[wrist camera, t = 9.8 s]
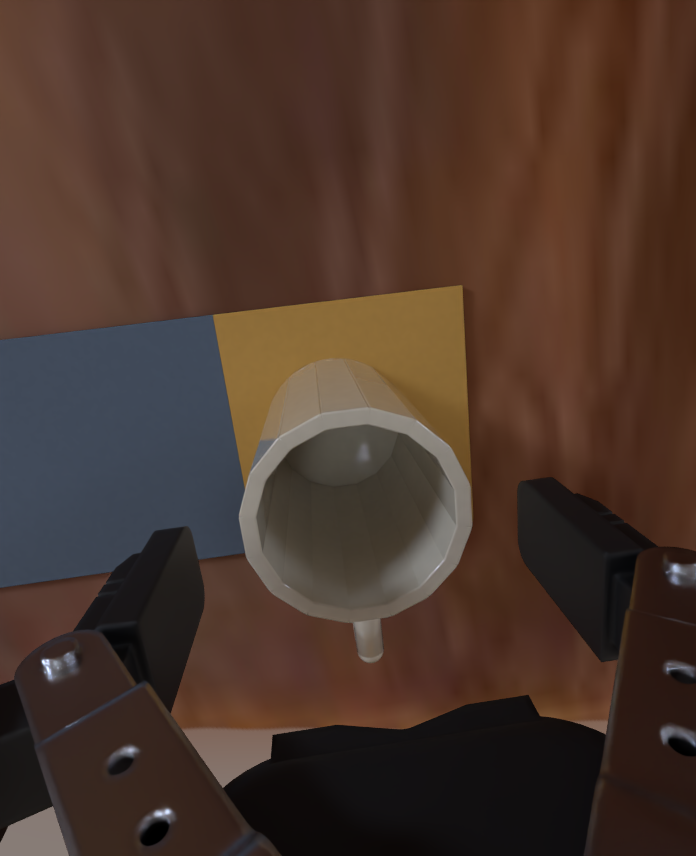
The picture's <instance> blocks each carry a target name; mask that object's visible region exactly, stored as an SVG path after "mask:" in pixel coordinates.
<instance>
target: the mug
mask: <svg viewBox="0 0 696 856" xmlns="http://www.w3.org/2000/svg"><path fill="white" fill-rule="evenodd" d="M239 523H240V528H241V533H242V539H243V544H244V549H245V554H246V557H247V560H248V561H249V563H250V564H251V566H252V567H253V568H254V570H255V571H256V573H257V574H258V576H259V577H260V578H261V580H262V581H263V583H264V584H265V585H266V587H267V588H268V590H269V591H270V592H271V593H272V594H273V595H275V596H277V597H278V598H280V599H281V600H283V601H285V602H286V603H288V604H290V605H291V606H293V607H294V608H296V609H298V610H299V611H301V612H302V613H304V614H307V615H309V616H314V617H319V618H324V619H329V620H334V621H340V622H345V623H348V622H349V623H353V626H354V634H355V641H356V648H357V653H358V655H359V657H360V658H361V659H362V660H363V661H364V662H367V663H375V662H377V661H378V660H379V659H380V658H381V657H382V655H383V652H384V644H383V634H382V625H381V618H387V617H390V616H394V615H396V614H398V613H399V612H401V611H403V610H405V609H407V608H409V607H411V606H413V605H415V604H417V603H419V602H420V601H422V600H424V599H426V598H428V596H430V595H431V594H432V593H433V592H434V591H435V590H436V589H437V588H438V587H439V586H440V584H441V583H442V582H443V581H444V580H445V579H446V578H447V577H448V576H449V575H450V574H451V572H452V571H453V570H454V569H455V568H456V567H457V565H458V563H459V561H460V558H461V555H462V553H463V550H464V548H465V545H466V542H467V540H468V537H469V534H470V532H471V529H472V504H471V486H470V483H469V481H468V479H467V477H466V475H465V473H464V471H463V469H462V467H461V465H460V463H459V461H458V459H457V457H456V456H455V454H454V452H453V450H452V448H451V447H450V446H449V445H448V443H447V442H446V441H445V440H444V439H443V438H442V437H441V436H440V435H439V434H438V432H437V431H436V430H435V429H434V428H433V427H432V426H431V425H430V424H429V423H428V421H427V420H426V419H425V418H424V417H423V416H422V415H421V414H420V413H419V412H418V410H417V409H416V408H415V407H414V406H413V405H412V404H411V403H410V402H409V401H408V399H407V398H406V397H405V396H404V395H403V394H402V393H401V392H400V391H399V390H398V389H397V387H396V386H395V385H394V384H393V383H392V382H391V381H389V380H388V379H387V378H386V377H385V376H383V375H382V374H381V373H380V372H379V371H377V370H376V369H374V368H373V367H371V366H369V365H367V364H365V363H362V362H359V361H356V360H352V359H346V358H329V359H323V360H319V361H316V362H313V363H310V364H308V365H306V366H304V367H302V368H300V369H299V370H297V371H296V372H294V373H293V374H292V375H291V376H290V377H289V378H288V379H287V380H286V381H285V382H284V383H283V384H282V385H281V387H280V388H279V390H278V391H277V393H276V395H275V396H274V397H273V400H272V402H271V405H270V408H269V412H268V415H267V418H266V421H265V424H264V428H263V431H262V434H261V437H260V440H259V444H258V447H257V450H256V453H255V457H254V460H253V463H252V466H251V469H250V473H249V476H248V480H247V484H246V488H245V492H244V496H243V500H242V504H241V508H240V512H239Z"/></svg>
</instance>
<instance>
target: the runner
mask: <svg viewBox="0 0 696 856" xmlns="http://www.w3.org/2000/svg"><path fill="white" fill-rule="evenodd" d="M329 358H346V359H352V360H356V361H359V362H362V363H365V364H367V365H369V366H371V367H373V368H374V369H376V370H377V371H379V372H380V373H381V374H382V375H383V376H385V377H386V378H387V379H388V380H389V381H391V382H392V383H393V384H394V385H395V386H396V387H397V389H398V390H399V391H400V392H401V393H402V394H403V395H404V396H405V397H406V398H407V399H408V401H409V402H410V403H411V404H412V405H413V406H414V407H415V408H416V409H417V410H418V412H419V413H420V414H421V415H422V416H423V417H424V418H425V419H426V420H427V421H428V423H429V424H430V425H431V426H432V427H433V428H434V429H435V430H436V431H437V432H438V434H439V435H440V436H441V437H442V438H443V439H444V440H445V441H446V442H447V443H448V445H449V446H450V447H451V448H452V450H453V452H454V454H455V456H456V457H457V459H458V461H459V463H460V465H461V467H462V469H463V471H464V473H465V475H466V477H467V479H468V481H469V483H470V486H471V504H472V521H473V501H472V480H471V458H470V437H469V416H468V395H467V374H466V352H465V331H464V310H463V289H462V285H459V286H451V287H442V288H434V289H426V290H417V291H409V292H401V293H392V294H384V295H375V296H367V297H359V298H350V299H342V300H334V301H325V302H317V303H308V304H300V305H292V306H283V307H275V308H267V309H258V310H250V311H241V312H233V313H225V314H216V315H208V316H200V317H191V318H183V319H174V320H166V321H158V322H149V323H141V324H133V325H124V326H116V327H107V328H99V329H91V330H82V331H74V332H66V333H57V334H49V335H41V336H32V337H24V338H15V339H7V340H0V588H2V587H9V586H16V585H23V584H30V583H37V582H44V581H51V580H58V579H65V578H72V577H79V576H86V575H93V574H100V573H108V572H113V571H114V570H115V568H116V567H117V566H118V565H120V564H121V563H122V562H124V561H125V560H126V559H127V558H129V557H130V556H131V555H132V554H137V553H141V552H142V550H143V548H144V547H145V545H146V543H147V542H148V540H149V539H150V537H151V535H152V534H153V532H154V531H155V530H162V529H169V528H176V527H184V526H188V527H189V528H190V530H191V532H192V535H193V540H194V544H195V549H196V553H197V557H198V560H199V559H206V558H213V557H220V556H227V555H234V554H241V553H245V549H244V544H243V539H242V533H241V528H240V523H239V512H240V508H241V504H242V500H243V496H244V492H245V488H246V484H247V480H248V476H249V473H250V469H251V466H252V463H253V460H254V457H255V453H256V450H257V447H258V444H259V440H260V437H261V434H262V431H263V428H264V424H265V421H266V418H267V415H268V412H269V408H270V405H271V402H272V400H273V397H274V396H275V395H276V393H277V391H278V390H279V388H280V387H281V385H282V384H283V383H284V382H285V381H286V380H287V379H288V378H289V377H290V376H291V375H292V374H293V373H294V372H296V371H297V370H299V369H300V368H302V367H304V366H306V365H308V364H310V363H313V362H316V361H319V360H323V359H329Z"/></svg>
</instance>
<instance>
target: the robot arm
mask: <svg viewBox="0 0 696 856" xmlns="http://www.w3.org/2000/svg"><path fill="white" fill-rule="evenodd" d="M517 504H518V544H519V549H520V553H521V556H522V559H523V561H524V563H525V564H526V566H527V567H528V568H529V570H530V571H531V572H532V574H533V575H534V576H535V577H536V579H537V580H538V581H539V583H540V584H541V585H542V586H543V588H544V589H545V590H546V592H547V593H548V594H549V595H550V597H551V598H552V599H553V601H554V602H555V603H556V604H557V606H558V607H559V608H560V610H561V611H562V612H563V613H564V615H565V616H566V617H567V619H568V620H569V621H570V622H571V624H572V625H573V626H574V628H575V629H576V630H577V631H578V633H579V634H580V635H581V637H582V638H583V639H584V640H585V642H586V643H587V644H588V646H589V647H590V648H591V649H592V651H593V652H594V653H595V655H596V656H597V657H598V658H599V660H600V661H601V662H606V661H612V660H618V662H617V669H616V675H615V681H614V687H613V694H612V700H611V706H610V713H609V719H608V725H607V731H606V734H604V733H601V732H599V731H597V730H594V729H592V728H589V727H586V726H584V725H581V724H577V723H574V722H570V721H567V720H562V719H556V718H551V717H541V716H539V714H538V712H537V710H536V708H535V706H534V705H533V703H532V701H531V699H530V697H529V695H525V696H519V697H512V698H506V699H499V700H493V701H487V702H480V703H474V704H468V705H465V706H462V707H460V708H457V709H455V710H453V711H450V712H448V713H445V714H443V715H440V716H438V717H436V718H433V719H431V720H428V721H426V722H424V723H421V724H419V725H416V726H414V727H411V728H408V729H385V728H371V727H358V726H344V725H333V726H327V727H320V728H314V729H308V730H301V731H295V732H289V733H282V734H277V735H273V737H272V751H271V759H269V760H267V761H264V762H262V763H260V764H258V765H256V766H254V767H253V768H251V769H249V770H247V771H245V772H244V773H242V774H241V775H239V776H238V777H236V778H235V779H233V780H232V781H231V782H230V783H228V784H227V785H226V786H225V787H224V788H222V786H221V785H220V784H219V782H218V781H217V779H216V778H215V776H214V775H213V774H212V772H211V771H210V769H209V768H208V767H207V765H206V764H205V763H204V761H203V760H202V758H201V757H200V755H199V754H198V752H197V751H196V750H195V748H194V747H193V745H192V744H191V742H190V741H189V740H188V738H187V737H186V735H185V734H184V732H183V731H182V730H181V728H180V727H179V725H178V724H177V723H176V721H175V720H174V718H173V717H172V715H171V711H172V707H173V704H174V701H175V698H176V695H177V692H178V688H179V685H180V682H181V679H182V676H183V673H184V669H185V666H186V663H187V660H188V657H189V654H190V650H191V647H192V644H193V641H194V638H195V635H196V631H197V628H198V625H199V622H200V619H201V616H202V612H203V608H204V585H203V580H202V575H201V571H200V566H199V562H198V557H197V553H196V549H195V544H194V540H193V535H192V532H191V530H190V528H189V527H188V526H184V527H176V528H169V529H162V530H155V531H154V532H153V534H152V535H151V537H150V539H149V540H148V542H147V543H146V545H145V547H144V548H143V550H142V552H141V553H137V554H132V555H131V556H130V557H129V558H127V559H126V560H125V561H124V562H122V563H121V564H120V565H118V566H117V567H116V568H115V570H114V571H113V573H112V574H111V576H110V577H109V579H108V580H107V581H106V585H104V586H103V587H102V589H101V590H100V592H99V593H98V597H96V598H95V599H94V601H93V602H92V604H91V605H90V607H89V608H88V610H87V611H86V613H85V614H84V616H83V617H82V619H81V620H80V622H79V623H78V625H77V626H76V628H75V629H74V631H73V632H70V633H66V634H63V635H60V636H58V637H56V638H54V639H52V640H50V641H48V642H46V643H44V644H43V645H41V646H39V647H38V648H36V649H35V650H34V651H32V652H31V653H30V654H29V655H28V656H27V657H26V658H25V659H24V660H23V661H22V662H21V663H20V665H19V666H18V668H17V670H16V672H15V676H14V680H12V681H10V682H7V683H4V684H1V685H0V842H1V840H2V838H3V836H4V834H5V832H6V830H7V827H8V826H9V825H11V824H13V823H16V822H18V821H20V820H23V819H25V818H26V817H29V816H31V815H34V814H36V813H38V812H40V811H43V810H45V809H47V808H50V807H52V806H53V807H54V810H55V813H56V816H57V820H58V823H59V826H60V828H61V832H62V835H63V838H64V841H65V844H66V848H67V850H68V854H69V856H696V551H693V550H689V549H684V548H678V547H658V546H657V545H655V544H654V543H653V542H651V541H650V540H649V539H647V538H646V537H645V536H643V535H642V534H641V533H639V532H638V531H637V530H635V529H634V528H633V527H631V526H630V525H629V524H627V523H624V521H623V520H622V519H621V518H619V517H618V516H617V515H616V514H612V511H610V510H609V509H608V508H606V507H605V506H604V505H602V504H601V503H600V502H598V501H596V500H593V499H591V498H588V497H586V496H583V495H580V494H578V493H577V494H573V493H572V492H571V491H570V490H568V489H567V488H566V487H564V486H563V485H562V484H561V483H559V482H558V481H557V480H556V479H554V478H552V477H548V478H541V479H534V480H526V481H521V482H520V483H519V485H518V490H517Z"/></svg>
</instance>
